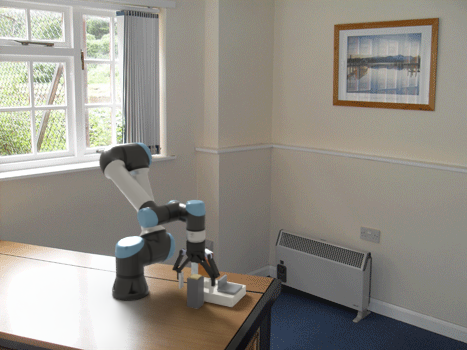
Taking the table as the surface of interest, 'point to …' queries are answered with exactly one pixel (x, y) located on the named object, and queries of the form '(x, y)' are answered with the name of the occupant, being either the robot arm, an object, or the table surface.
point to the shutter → (227, 286)
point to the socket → (222, 294)
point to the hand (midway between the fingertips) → (196, 290)
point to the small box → (200, 267)
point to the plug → (195, 291)
